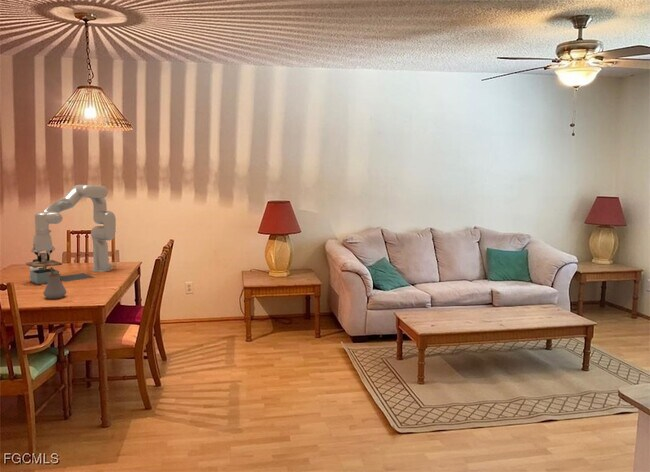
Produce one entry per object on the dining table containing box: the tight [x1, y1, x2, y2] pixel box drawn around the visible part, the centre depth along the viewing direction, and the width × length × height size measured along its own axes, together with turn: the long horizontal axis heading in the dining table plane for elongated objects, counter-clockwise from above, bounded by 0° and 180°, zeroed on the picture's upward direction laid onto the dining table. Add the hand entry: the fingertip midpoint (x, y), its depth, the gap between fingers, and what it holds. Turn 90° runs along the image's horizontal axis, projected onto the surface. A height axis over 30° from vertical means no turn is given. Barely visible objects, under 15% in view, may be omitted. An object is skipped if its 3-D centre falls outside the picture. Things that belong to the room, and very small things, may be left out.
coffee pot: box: [43, 266, 67, 300], centre depth 300 cm, size 21×12×15 cm, turn 32°
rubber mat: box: [60, 273, 96, 282], centre depth 349 cm, size 19×19×1 cm
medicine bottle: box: [29, 258, 48, 272], centre depth 349 cm, size 7×7×12 cm
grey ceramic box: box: [29, 267, 60, 286], centre depth 335 cm, size 13×13×7 cm
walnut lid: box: [25, 252, 63, 268], centre depth 334 cm, size 16×16×7 cm
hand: (43, 261), depth 334 cm, fingers closed on walnut lid, 4 cm apart
